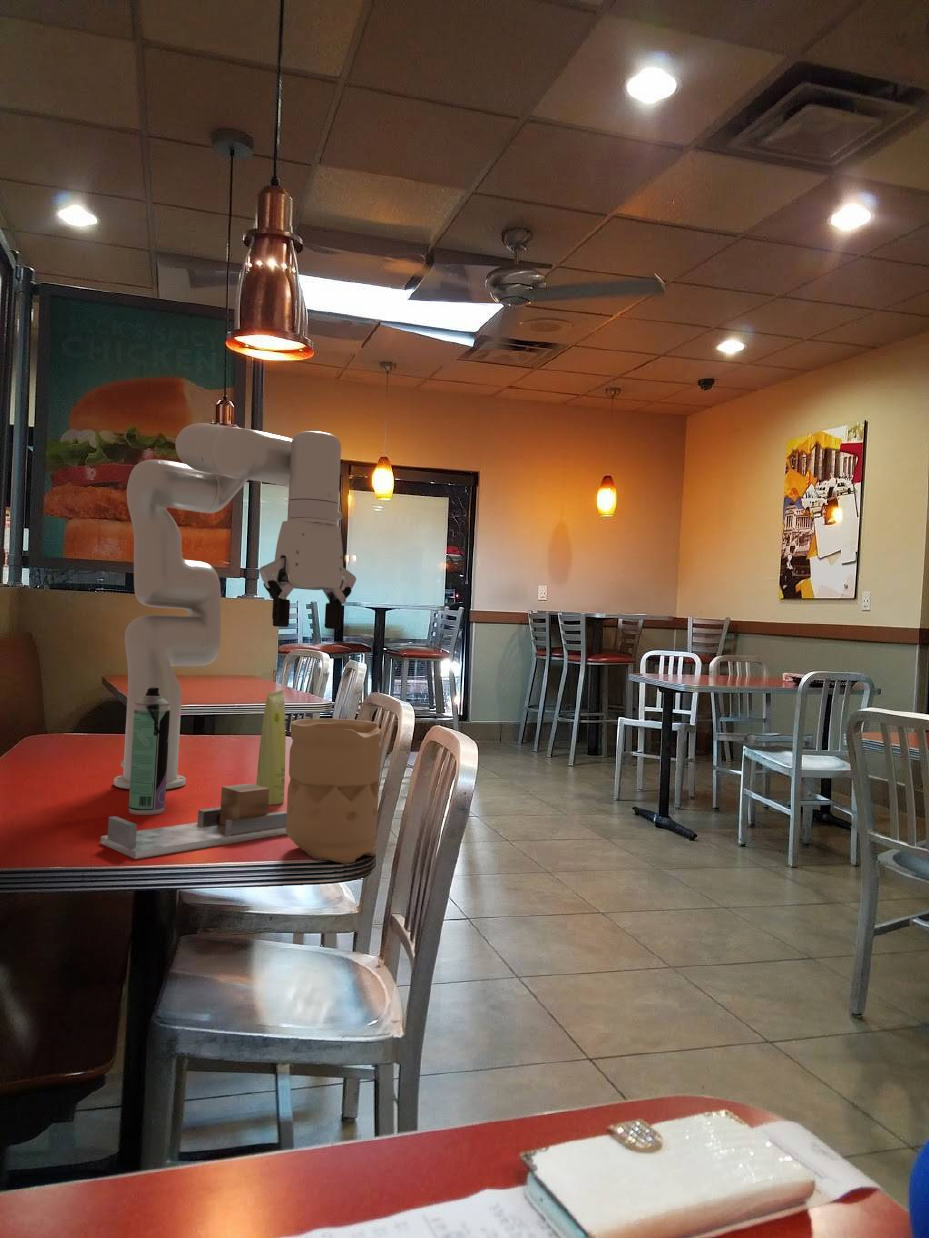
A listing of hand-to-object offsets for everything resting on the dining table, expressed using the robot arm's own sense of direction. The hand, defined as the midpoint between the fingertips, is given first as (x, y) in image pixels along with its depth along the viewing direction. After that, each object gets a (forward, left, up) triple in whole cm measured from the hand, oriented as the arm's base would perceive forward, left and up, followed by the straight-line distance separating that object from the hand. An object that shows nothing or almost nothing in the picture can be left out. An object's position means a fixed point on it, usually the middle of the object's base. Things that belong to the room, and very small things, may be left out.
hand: (307, 627), depth 133 cm
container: (+12, -3, -31) cm, 34 cm away
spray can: (-25, -11, -31) cm, 42 cm away
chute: (-5, -13, -31) cm, 34 cm away
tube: (-20, +9, -31) cm, 38 cm away
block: (-5, -6, -30) cm, 31 cm away
